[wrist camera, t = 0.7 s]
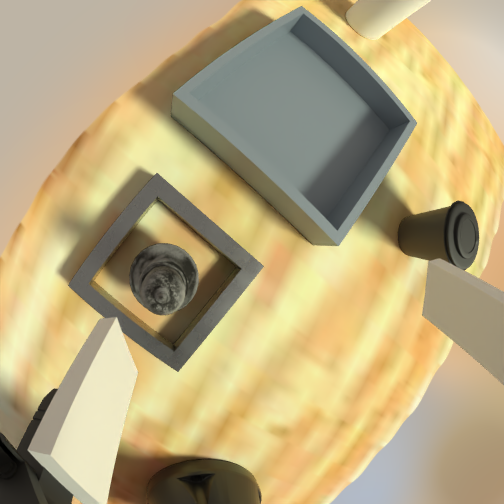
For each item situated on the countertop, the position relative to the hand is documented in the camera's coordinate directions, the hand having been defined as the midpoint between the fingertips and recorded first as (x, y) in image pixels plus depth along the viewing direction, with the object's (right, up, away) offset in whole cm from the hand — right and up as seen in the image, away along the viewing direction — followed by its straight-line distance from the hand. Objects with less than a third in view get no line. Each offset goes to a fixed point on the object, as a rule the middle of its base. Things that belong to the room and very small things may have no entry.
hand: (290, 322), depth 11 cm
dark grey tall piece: (-10, +1, +16) cm, 19 cm away
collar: (-10, +1, +16) cm, 19 cm away
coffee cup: (+20, +5, +25) cm, 32 cm away
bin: (+4, +17, +19) cm, 26 cm away
